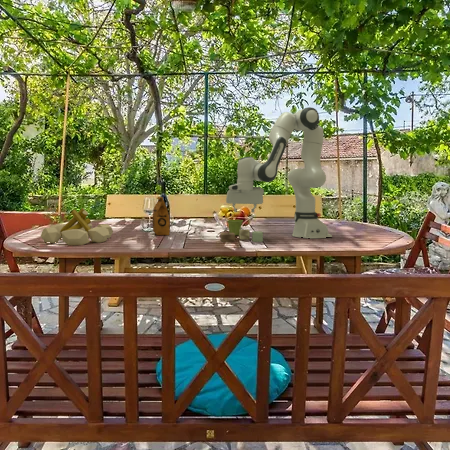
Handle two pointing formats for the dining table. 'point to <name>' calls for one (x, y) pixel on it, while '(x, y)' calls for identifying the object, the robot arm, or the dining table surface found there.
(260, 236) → the green cube
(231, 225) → the plant pot
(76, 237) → the campfire
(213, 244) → the dining table surface
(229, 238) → the brown square block
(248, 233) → the birch cube
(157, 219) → the coffee package
